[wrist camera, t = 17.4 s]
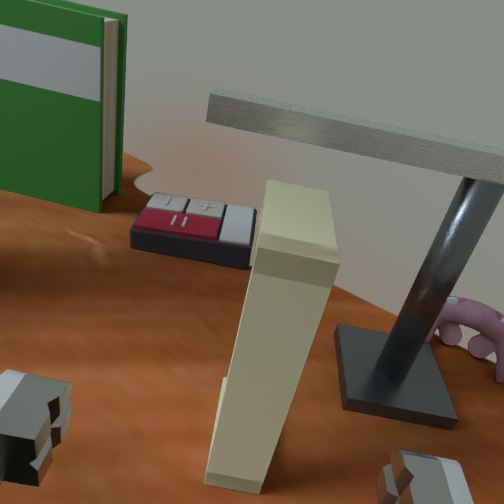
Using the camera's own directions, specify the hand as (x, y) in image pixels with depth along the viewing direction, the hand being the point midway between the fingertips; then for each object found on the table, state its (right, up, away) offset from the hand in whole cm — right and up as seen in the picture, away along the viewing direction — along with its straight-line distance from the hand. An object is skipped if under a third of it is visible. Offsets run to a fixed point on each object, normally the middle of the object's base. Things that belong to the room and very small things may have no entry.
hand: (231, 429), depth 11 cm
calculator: (-7, +6, +49) cm, 50 cm away
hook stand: (+6, -6, +33) cm, 34 cm away
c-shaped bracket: (-1, -10, +24) cm, 26 cm away
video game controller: (+24, -7, +39) cm, 46 cm away
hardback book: (-28, +13, +53) cm, 61 cm away
